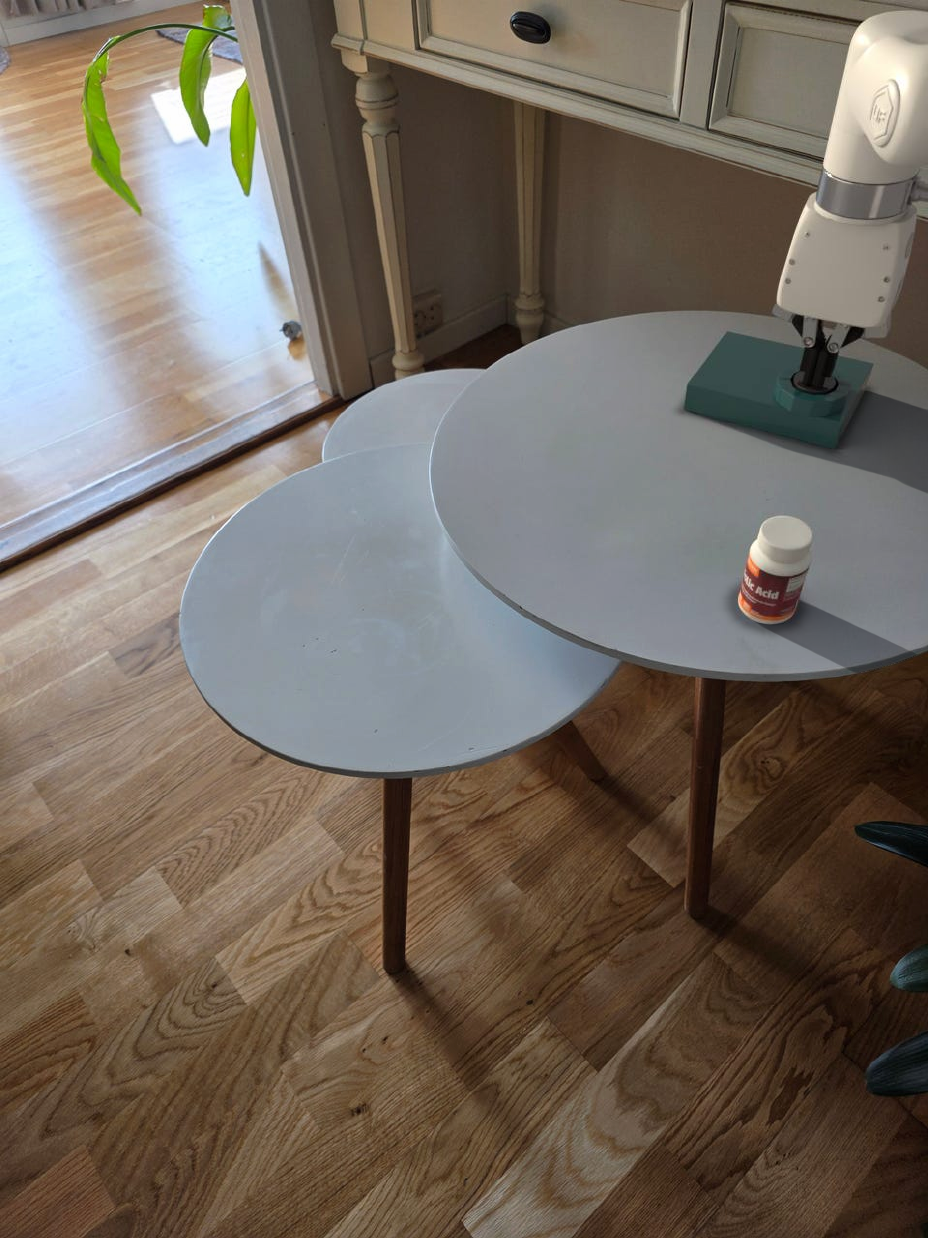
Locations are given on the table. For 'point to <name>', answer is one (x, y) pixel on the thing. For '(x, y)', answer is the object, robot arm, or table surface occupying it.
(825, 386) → the dark grey push button
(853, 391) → the teal rectangular block
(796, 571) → the pill bottle
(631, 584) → the table surface
